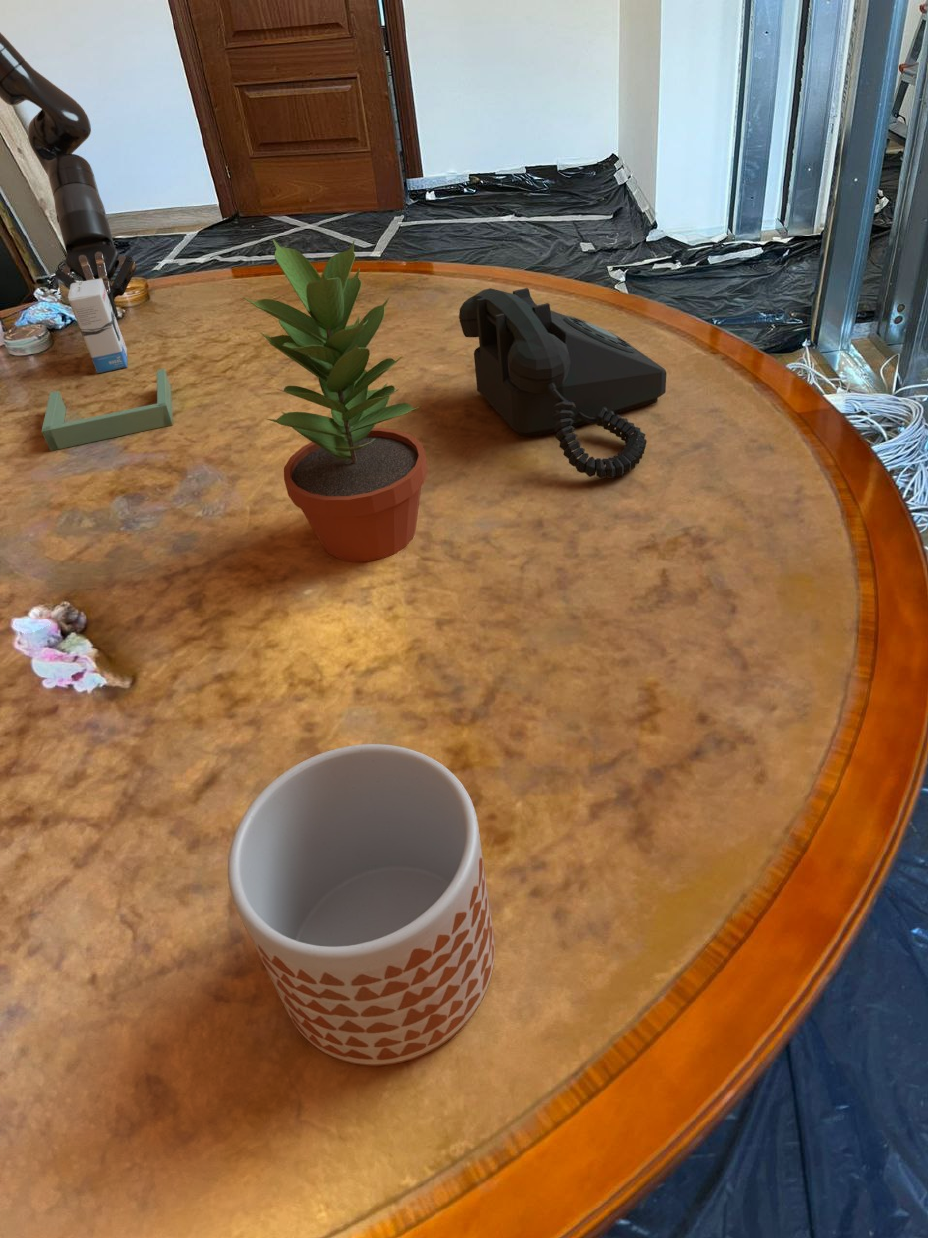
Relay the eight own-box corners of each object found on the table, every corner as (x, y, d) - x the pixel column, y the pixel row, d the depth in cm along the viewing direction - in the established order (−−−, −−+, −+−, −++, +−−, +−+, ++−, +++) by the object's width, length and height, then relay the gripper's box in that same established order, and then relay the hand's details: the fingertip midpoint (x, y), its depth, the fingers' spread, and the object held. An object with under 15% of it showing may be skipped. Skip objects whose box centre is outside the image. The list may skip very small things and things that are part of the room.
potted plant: (415, 582, 84) (363, 272, 65) (279, 567, 89) (192, 271, 70) (460, 501, 95) (426, 214, 76) (336, 491, 99) (274, 217, 80)
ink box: (128, 367, 135) (100, 293, 128) (96, 374, 134) (66, 299, 127) (128, 348, 141) (102, 276, 134) (98, 354, 141) (70, 282, 133)
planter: (293, 874, 60) (245, 754, 52) (487, 854, 59) (470, 730, 51) (269, 1081, 49) (204, 970, 41) (505, 1057, 49) (487, 941, 41)
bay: (58, 411, 125) (49, 391, 123) (171, 387, 127) (164, 368, 126) (50, 451, 115) (41, 431, 113) (173, 424, 118) (166, 404, 116)
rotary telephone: (732, 449, 98) (747, 320, 88) (560, 498, 93) (557, 368, 84) (599, 350, 123) (599, 240, 113) (458, 384, 118) (446, 274, 109)
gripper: (130, 227, 145) (155, 322, 143) (49, 242, 142) (75, 339, 141) (118, 200, 137) (145, 301, 136) (33, 216, 135) (60, 318, 134)
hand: (109, 320), depth 139 cm, fingers closed
